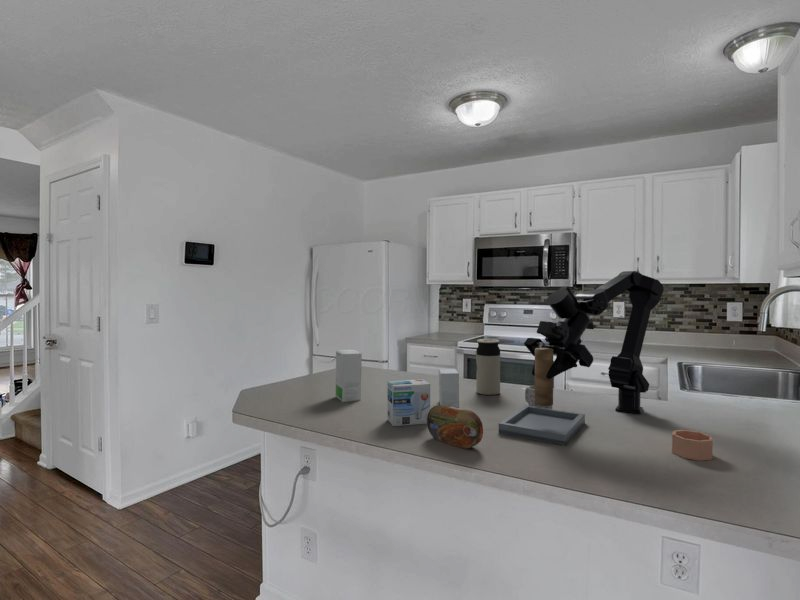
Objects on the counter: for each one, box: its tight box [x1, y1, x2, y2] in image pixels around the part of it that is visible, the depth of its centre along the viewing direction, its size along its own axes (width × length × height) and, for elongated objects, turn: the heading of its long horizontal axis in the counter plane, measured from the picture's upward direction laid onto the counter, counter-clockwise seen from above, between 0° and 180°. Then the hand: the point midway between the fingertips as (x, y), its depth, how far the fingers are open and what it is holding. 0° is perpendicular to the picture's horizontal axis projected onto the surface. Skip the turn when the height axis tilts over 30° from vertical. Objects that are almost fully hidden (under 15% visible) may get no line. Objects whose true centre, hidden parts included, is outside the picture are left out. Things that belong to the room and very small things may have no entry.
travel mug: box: [475, 338, 501, 396], centre depth 153 cm, size 8×8×18 cm
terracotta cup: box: [671, 429, 714, 462], centre depth 97 cm, size 7×7×4 cm
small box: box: [438, 368, 460, 408], centre depth 138 cm, size 8×6×10 cm
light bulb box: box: [387, 378, 431, 427], centre depth 121 cm, size 11×7×11 cm, turn 105°
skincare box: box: [334, 348, 363, 403], centre depth 146 cm, size 8×7×16 cm
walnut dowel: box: [534, 348, 554, 406], centre depth 114 cm, size 4×4×14 cm
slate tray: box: [498, 404, 586, 447], centre depth 115 cm, size 20×16×2 cm
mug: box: [524, 385, 553, 409], centre depth 133 cm, size 10×7×7 cm, turn 22°
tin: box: [426, 404, 484, 449], centre depth 105 cm, size 15×3×8 cm, turn 45°
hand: (540, 376), depth 114 cm, fingers closed on walnut dowel, 4 cm apart
